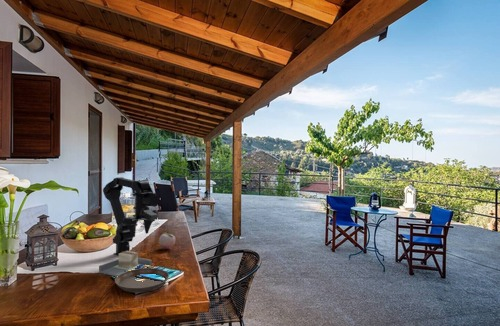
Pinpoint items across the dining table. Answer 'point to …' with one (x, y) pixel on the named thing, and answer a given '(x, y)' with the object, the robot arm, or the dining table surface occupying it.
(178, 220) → the dining table surface
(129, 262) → the birch block
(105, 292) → the dining table surface
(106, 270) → the corner arena
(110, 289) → the dining table surface
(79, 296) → the dining table surface
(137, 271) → the plant saucer
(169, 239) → the decorative fruit
